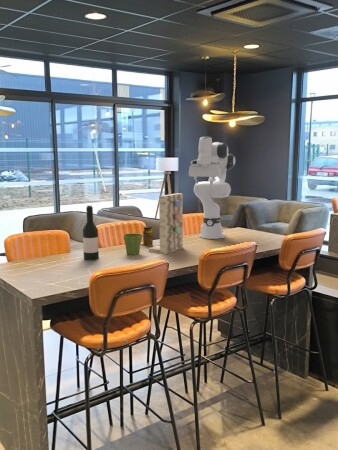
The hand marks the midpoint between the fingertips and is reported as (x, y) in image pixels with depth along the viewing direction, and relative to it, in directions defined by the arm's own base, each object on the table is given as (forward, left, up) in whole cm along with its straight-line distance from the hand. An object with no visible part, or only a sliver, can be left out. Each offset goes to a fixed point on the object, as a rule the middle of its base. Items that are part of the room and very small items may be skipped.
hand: (204, 183), depth 279 cm
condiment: (+15, -34, -39) cm, 54 cm away
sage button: (+26, -11, -28) cm, 40 cm away
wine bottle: (+58, -51, -39) cm, 87 cm away
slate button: (+26, -11, -12) cm, 30 cm away
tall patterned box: (+24, -18, -39) cm, 49 cm away
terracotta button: (+26, -11, -20) cm, 34 cm away
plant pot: (+40, -33, -39) cm, 65 cm away
